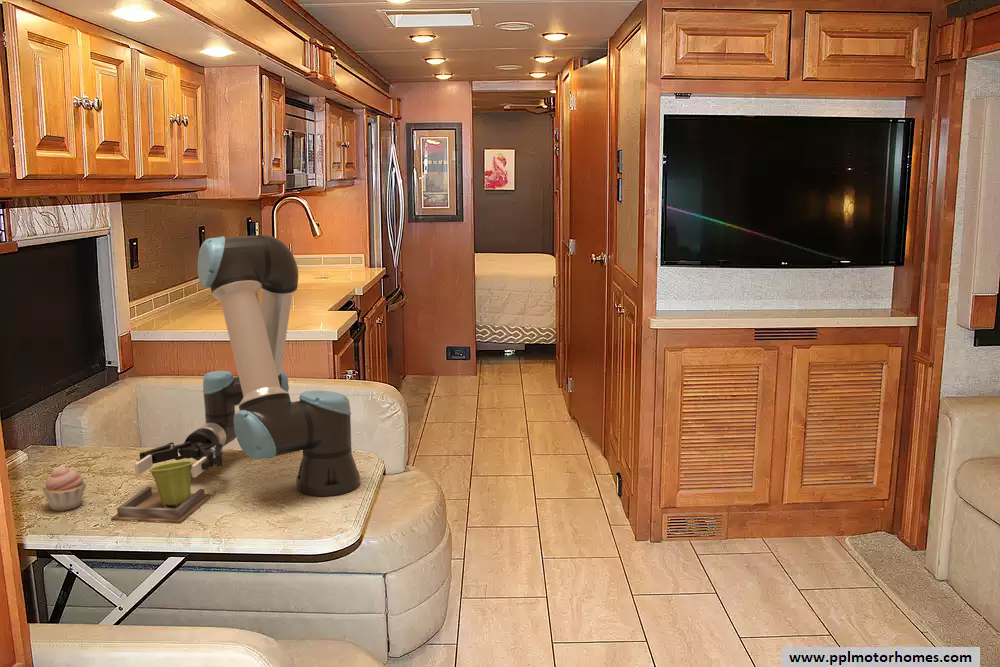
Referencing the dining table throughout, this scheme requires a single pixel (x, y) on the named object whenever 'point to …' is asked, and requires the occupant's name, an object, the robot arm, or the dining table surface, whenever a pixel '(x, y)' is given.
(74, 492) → the cupcake
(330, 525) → the dining table surface
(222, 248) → the robot arm
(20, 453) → the dining table surface
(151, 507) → the keeper bracket
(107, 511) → the dining table surface
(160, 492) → the plant pot
